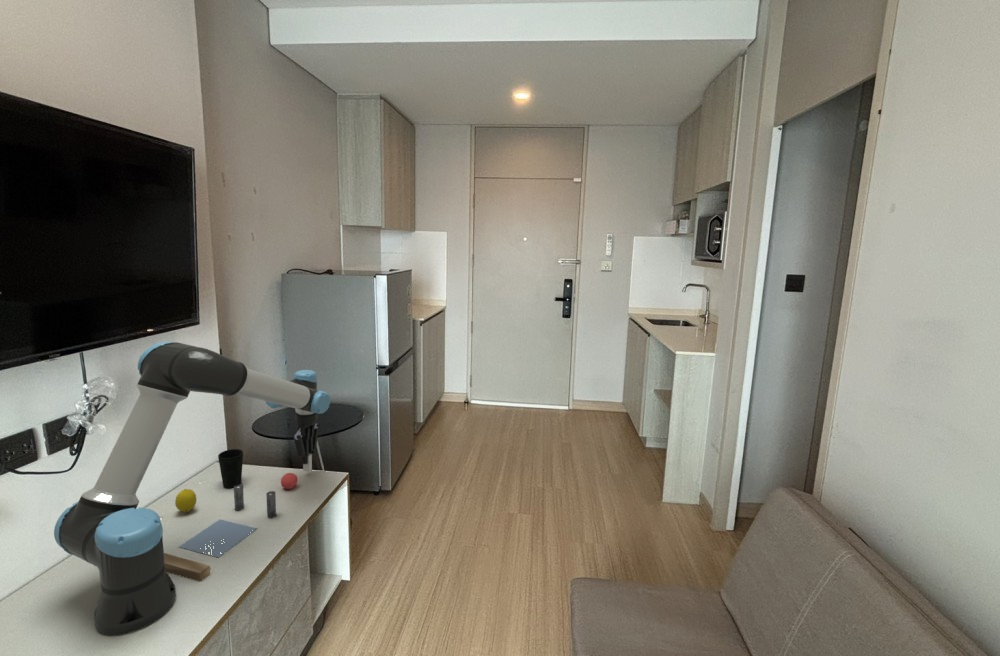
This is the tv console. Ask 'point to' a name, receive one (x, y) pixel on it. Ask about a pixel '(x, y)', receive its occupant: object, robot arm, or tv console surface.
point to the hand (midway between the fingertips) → (307, 470)
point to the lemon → (185, 500)
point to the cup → (231, 467)
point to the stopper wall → (186, 567)
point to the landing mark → (218, 538)
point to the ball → (289, 480)
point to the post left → (238, 497)
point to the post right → (271, 504)
